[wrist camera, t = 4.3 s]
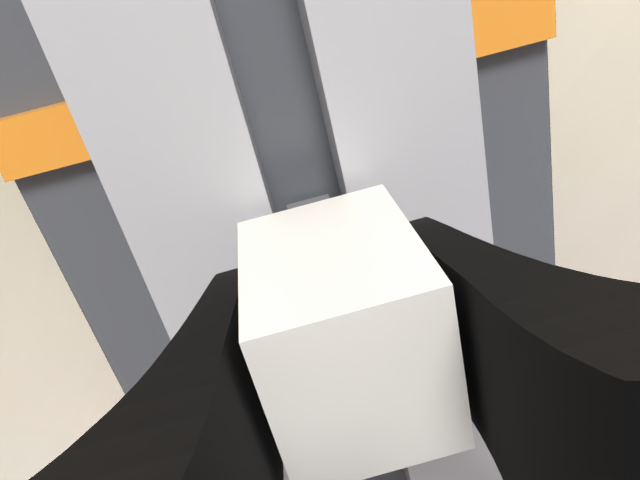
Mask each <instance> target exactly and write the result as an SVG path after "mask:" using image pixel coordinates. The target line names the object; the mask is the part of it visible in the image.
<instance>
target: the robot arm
mask: <svg viewBox="0 0 640 480" xmlns="http://www.w3.org/2000/svg"><path fill="white" fill-rule="evenodd" d="M409 223H410V224H411V226H412V227H413V228H414V230H415V231H416V233H417V234H418V236H419V237H420V238H421V240H422V241H423V243H424V244H425V246H426V247H427V248H428V250H429V251H430V253H431V254H432V256H433V257H434V258H435V260H436V261H437V263H438V264H439V266H440V267H441V269H442V270H443V271H444V273H445V274H446V276H447V277H448V279H449V280H450V281H451V283H452V284H453V290H454V297H455V305H456V312H457V319H458V326H459V334H460V341H461V348H462V355H463V363H464V370H465V377H466V384H467V392H468V399H469V406H470V413H471V420H472V422H473V423H474V425H475V427H476V428H477V430H478V432H479V433H480V435H481V437H482V439H483V441H484V442H485V444H486V446H487V448H488V450H489V452H490V453H491V455H492V457H493V459H494V461H495V464H496V466H497V468H498V470H499V472H500V474H501V476H502V479H503V480H640V283H636V282H629V281H623V280H617V279H612V278H607V277H601V276H596V275H592V274H588V273H584V272H580V271H575V270H571V269H567V268H563V267H559V266H555V265H552V264H548V263H545V262H542V261H539V260H536V259H532V258H529V257H526V256H523V255H520V254H517V253H514V252H512V251H509V250H506V249H504V248H501V247H498V246H496V245H493V244H491V243H488V242H486V241H483V240H481V239H478V238H476V237H474V236H471V235H469V234H466V233H464V232H462V231H460V230H457V229H455V228H453V227H451V226H448V225H446V224H444V223H441V222H439V221H437V220H434V219H432V218H429V217H423V218H420V219H416V220H412V221H409ZM29 480H284V473H283V461H282V458H281V456H280V453H279V450H278V448H277V445H276V442H275V440H274V437H273V434H272V431H271V429H270V426H269V423H268V421H267V418H266V415H265V413H264V410H263V407H262V404H261V402H260V399H259V396H258V394H257V391H256V388H255V385H254V383H253V380H252V377H251V375H250V372H249V369H248V367H247V364H246V361H245V358H244V356H243V353H242V350H241V348H240V345H239V316H238V268H236V269H232V270H229V271H225V272H221V273H218V274H216V275H215V276H214V277H213V279H212V280H211V282H210V283H209V285H208V287H207V288H206V290H205V291H204V293H203V294H202V296H201V298H200V299H199V301H198V302H197V304H196V305H195V307H194V308H193V310H192V311H191V313H190V314H189V316H188V317H187V319H186V320H185V322H184V323H183V325H182V326H181V328H180V329H179V330H178V332H177V333H176V334H175V336H174V337H173V338H172V340H171V341H170V342H169V344H168V345H167V346H166V347H165V349H164V350H163V351H162V353H161V354H160V355H159V357H158V358H157V359H156V361H155V362H154V363H153V364H152V366H151V367H150V368H149V369H148V370H147V372H146V373H145V374H144V375H143V376H142V377H141V378H140V380H139V381H138V382H137V383H136V384H135V385H134V386H133V387H132V388H131V389H130V390H129V391H128V392H127V393H126V395H125V396H124V397H123V398H122V399H121V400H120V401H119V402H118V403H117V404H116V405H115V406H114V407H113V408H112V409H111V410H110V411H109V412H108V413H107V414H106V415H104V416H103V417H102V418H101V419H100V420H99V421H98V422H97V423H96V424H95V425H93V426H92V427H91V428H90V429H89V430H88V431H87V432H86V433H85V434H83V435H82V436H81V437H80V438H79V439H78V440H77V441H76V442H75V443H73V444H72V445H71V446H70V447H69V448H68V449H67V450H66V451H64V452H63V453H62V454H61V455H59V456H58V457H57V458H56V459H54V460H53V461H52V462H51V463H49V464H48V465H47V466H46V467H44V468H43V469H42V470H41V471H40V472H38V473H37V474H36V475H34V476H33V477H32V478H30V479H29Z"/></svg>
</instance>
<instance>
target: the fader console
mask: <svg viewBox="0 0 640 480" xmlns="http://www.w3.org/2000/svg"><path fill="white" fill-rule="evenodd" d="M555 37H556V11H555V0H0V173H1V175H2V177H3V179H4V181H5V182H9V181H12V180H15V182H16V184H17V186H18V188H19V190H20V192H21V194H22V196H23V198H24V200H25V202H26V204H27V205H28V207H29V209H30V211H31V213H32V215H33V217H34V219H35V221H36V223H37V225H38V227H39V229H40V231H41V233H42V235H43V236H44V238H45V240H46V242H47V244H48V246H49V248H50V250H51V252H52V254H53V256H54V258H55V260H56V262H57V264H58V265H59V267H60V269H61V271H62V273H63V275H64V277H65V279H66V281H67V283H68V285H69V287H70V289H71V291H72V293H73V294H74V296H75V298H76V300H77V302H78V304H79V306H80V308H81V310H82V312H83V314H84V316H85V318H86V320H87V322H88V323H89V325H90V327H91V329H92V331H93V333H94V335H95V337H96V339H97V341H98V343H99V345H100V347H101V349H102V351H103V353H104V354H105V356H106V358H107V360H108V362H109V364H110V366H111V368H112V370H113V372H114V374H115V376H116V378H117V380H118V382H119V383H120V385H121V387H122V389H123V391H124V393H125V395H126V393H127V392H128V391H129V390H130V389H131V388H132V387H133V386H134V385H135V384H136V383H137V382H138V381H139V380H140V378H141V377H142V376H143V375H144V374H145V373H146V372H147V370H148V369H149V368H150V367H151V366H152V364H153V363H154V362H155V361H156V359H157V358H158V357H159V355H160V354H161V353H162V351H163V350H164V349H165V347H166V346H167V345H168V344H169V342H170V341H171V340H172V338H173V337H174V336H175V334H176V333H177V332H178V330H179V329H180V328H181V326H182V325H183V323H184V322H185V320H186V319H187V317H188V316H189V314H190V313H191V311H192V310H193V308H194V307H195V305H196V304H197V302H198V301H199V299H200V298H201V296H202V294H203V293H204V291H205V290H206V288H207V287H208V285H209V283H210V282H211V280H212V279H213V277H214V276H215V275H216V274H218V273H221V272H225V271H229V270H232V269H236V268H238V227H237V223H239V222H243V221H247V220H250V219H254V218H258V217H262V216H265V215H269V214H273V213H277V212H280V211H284V210H287V205H288V204H292V203H295V202H299V201H303V200H306V199H310V198H314V197H318V196H321V195H325V194H328V195H329V197H330V198H333V197H336V196H340V195H344V194H347V193H351V192H355V191H359V190H362V189H366V188H370V187H374V186H377V185H381V184H383V185H384V187H385V188H386V190H387V191H388V193H389V194H390V195H391V197H392V198H393V200H394V201H395V203H396V204H397V205H398V207H399V208H400V210H401V211H402V213H403V214H404V215H405V217H406V218H407V220H408V221H412V220H416V219H420V218H423V217H429V218H432V219H434V220H437V221H439V222H441V223H444V224H446V225H448V226H451V227H453V228H455V229H457V230H460V231H462V232H464V233H466V234H469V235H471V236H474V237H476V238H478V239H481V240H483V241H486V242H488V243H491V244H493V245H496V246H498V247H501V248H504V249H506V250H509V251H512V252H514V253H517V254H520V255H523V256H526V257H529V258H532V259H536V260H539V261H542V262H545V263H548V264H552V265H555V249H554V221H553V193H552V165H551V138H550V110H549V82H548V54H547V39H551V38H555ZM471 421H472V420H471ZM472 428H473V435H474V443H475V448H474V449H470V450H467V451H463V452H460V453H456V454H453V455H449V456H445V457H442V458H438V459H435V460H431V461H428V462H424V463H420V464H417V465H413V466H410V467H406V468H403V469H399V470H395V471H392V472H388V473H385V474H381V475H378V476H374V477H371V478H367V479H363V480H503V479H502V476H501V474H500V472H499V470H498V468H497V466H496V464H495V461H494V459H493V457H492V455H491V453H490V452H489V450H488V448H487V446H486V444H485V442H484V441H483V439H482V437H481V435H480V433H479V432H478V430H477V428H476V427H475V425H474V423H473V422H472ZM283 473H284V480H289V477H288V475H287V472H286V469H285V467H284V464H283Z"/></svg>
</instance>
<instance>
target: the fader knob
mask: <svg viewBox="0 0 640 480" xmlns="http://www.w3.org/2000/svg"><path fill="white" fill-rule="evenodd" d="M237 227H238V316H239V345H240V348H241V350H242V353H243V356H244V358H245V361H246V364H247V367H248V369H249V372H250V375H251V377H252V380H253V383H254V385H255V388H256V391H257V394H258V396H259V399H260V402H261V404H262V407H263V410H264V413H265V415H266V418H267V421H268V423H269V426H270V429H271V431H272V434H273V437H274V440H275V442H276V445H277V448H278V450H279V453H280V456H281V458H282V461H283V464H284V467H285V469H286V472H287V475H288V477H289V480H363V479H367V478H371V477H374V476H378V475H381V474H385V473H388V472H392V471H395V470H399V469H403V468H406V467H410V466H413V465H417V464H420V463H424V462H428V461H431V460H435V459H438V458H442V457H445V456H449V455H453V454H456V453H460V452H463V451H467V450H470V449H474V448H475V443H474V435H473V428H472V421H471V413H470V406H469V399H468V392H467V384H466V377H465V370H464V363H463V355H462V348H461V341H460V334H459V326H458V319H457V312H456V305H455V297H454V290H453V284H452V283H451V281H450V280H449V279H448V277H447V276H446V274H445V273H444V271H443V270H442V269H441V267H440V266H439V264H438V263H437V261H436V260H435V258H434V257H433V256H432V254H431V253H430V251H429V250H428V248H427V247H426V246H425V244H424V243H423V241H422V240H421V238H420V237H419V236H418V234H417V233H416V231H415V230H414V228H413V227H412V226H411V224H410V223H409V221H408V220H407V218H406V217H405V215H404V214H403V213H402V211H401V210H400V208H399V207H398V205H397V204H396V203H395V201H394V200H393V198H392V197H391V195H390V194H389V193H388V191H387V190H386V188H385V187H384V185H383V184H381V185H377V186H374V187H370V188H366V189H362V190H359V191H355V192H351V193H347V194H344V195H340V196H336V197H333V198H330V197H329V195H328V194H325V195H321V196H318V197H314V198H310V199H306V200H303V201H299V202H295V203H292V204H288V205H287V210H284V211H280V212H277V213H273V214H269V215H265V216H262V217H258V218H254V219H250V220H247V221H243V222H239V223H237Z"/></svg>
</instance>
